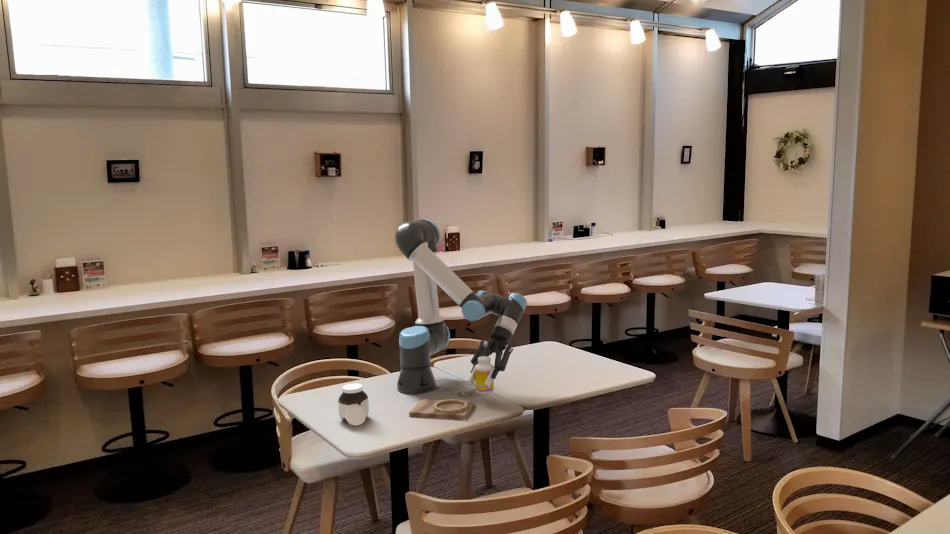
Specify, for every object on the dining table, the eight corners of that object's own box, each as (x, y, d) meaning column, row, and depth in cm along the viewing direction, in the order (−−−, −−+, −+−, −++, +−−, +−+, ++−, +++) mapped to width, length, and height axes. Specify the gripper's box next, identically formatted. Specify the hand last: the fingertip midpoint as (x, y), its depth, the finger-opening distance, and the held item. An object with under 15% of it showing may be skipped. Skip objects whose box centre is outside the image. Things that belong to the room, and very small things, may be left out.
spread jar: (357, 412, 259) (356, 380, 257) (379, 418, 252) (378, 386, 250) (331, 422, 250) (329, 389, 248) (353, 429, 243) (351, 395, 241)
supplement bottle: (487, 396, 262) (487, 361, 260) (472, 393, 265) (471, 358, 263) (497, 390, 267) (496, 356, 266) (481, 388, 271) (481, 354, 269)
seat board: (409, 416, 253) (408, 409, 253) (422, 403, 267) (421, 396, 266) (464, 419, 248) (464, 412, 248) (475, 406, 262) (474, 399, 261)
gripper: (529, 339, 270) (505, 393, 260) (486, 332, 282) (461, 384, 271) (521, 328, 265) (496, 383, 255) (478, 322, 277) (452, 374, 266)
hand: (478, 383), depth 263 cm, fingers closed on supplement bottle, 7 cm apart
